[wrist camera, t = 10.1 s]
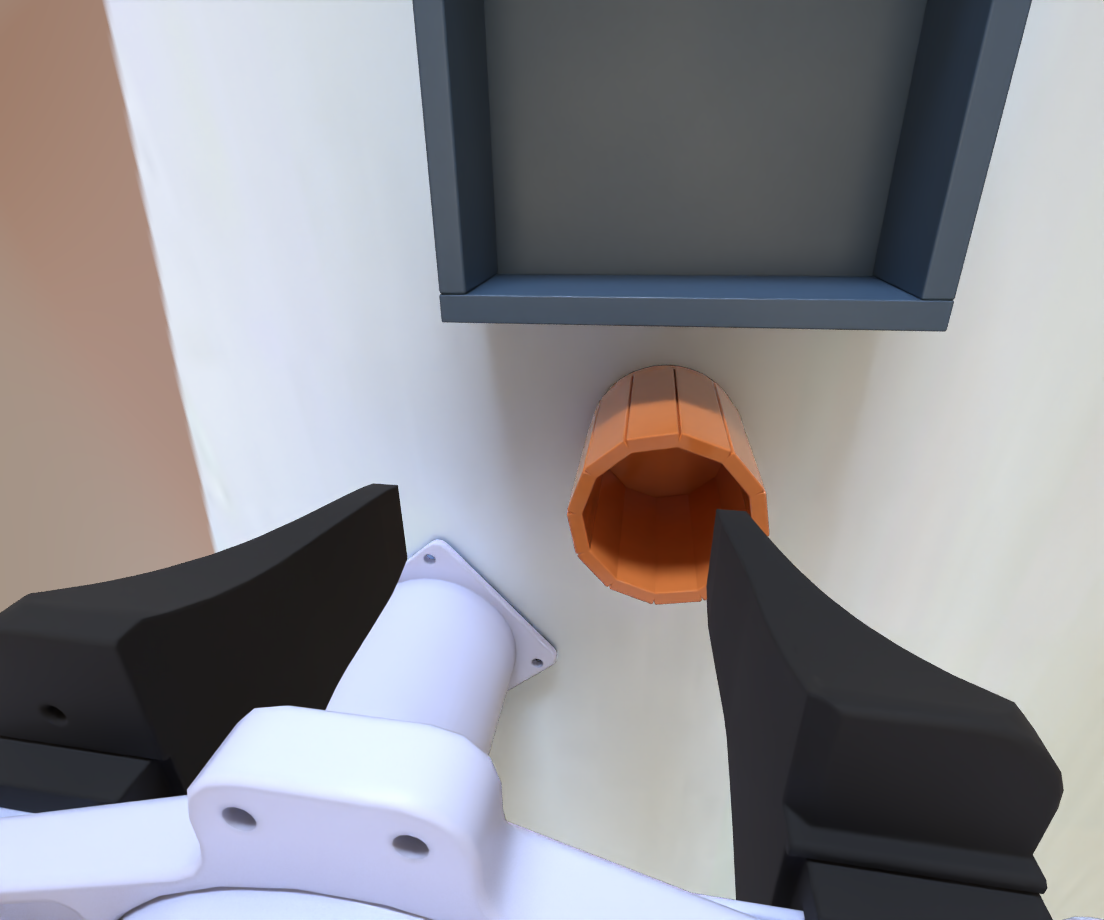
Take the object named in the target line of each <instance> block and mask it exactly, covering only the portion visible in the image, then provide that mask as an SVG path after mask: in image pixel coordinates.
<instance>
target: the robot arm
mask: <svg viewBox="0 0 1104 920" xmlns="http://www.w3.org/2000/svg"><path fill="white" fill-rule="evenodd" d="M427 554H429V555H432V556H434V558H435V559H430V558H429V557H428V556H427ZM706 590H707V614H708V629H709V634H710V640H711V646H712V652H713V657H714V663H715V669H716V674H717V680H718V685H719V691H720V696H721V702H722V707H723V713H724V720H725V727H726V735H727V748H728V762H729V776H730V792H731V809H732V826H733V845H734V866H735V887H736V900H733V899H727V898H721V897H714V896H708V895H702V894H696V893H691V892H688V891H686V890H683V889H681V888H678V887H675V886H673V885H670V884H668V883H665V882H663V881H660V880H657V879H655V878H652V877H650V876H647V875H644V874H642V873H639V872H637V871H634V870H632V869H629V868H626V867H624V866H621V865H619V864H616V863H614V862H611V861H608V860H606V859H603V858H601V857H598V856H596V855H593V854H590V853H588V852H585V851H583V850H580V849H577V848H575V847H572V846H570V845H567V844H565V843H562V842H559V841H557V840H554V839H552V838H549V837H547V836H544V835H541V834H539V833H536V832H534V831H531V830H528V829H526V828H523V827H521V826H518V825H516V824H513V823H510V822H508V821H506V819H505V815H504V811H503V802H502V786H501V781H500V779H499V776H498V774H497V772H496V769H495V767H494V765H493V763H492V760H491V758H490V757H489V752H490V749H491V745H492V742H493V738H494V735H495V731H496V728H497V724H498V721H499V717H500V714H501V710H502V707H503V703H504V700H505V696H506V693H507V691H508V690H510V689H512V688H513V687H515V686H517V685H519V684H520V683H522V682H524V681H526V680H527V679H529V678H531V677H533V676H534V675H536V674H538V673H539V672H541V671H543V670H545V669H546V668H548V667H550V666H552V665H553V664H554V663H555V662H556V659H557V651H556V650H555V648H554V647H553V646H552V645H551V644H550V643H548V642H547V641H546V640H545V639H544V638H543V637H542V636H541V635H540V634H539V633H538V632H537V631H536V630H535V629H534V628H533V627H532V626H531V625H530V624H529V623H528V622H527V621H526V620H525V619H524V618H523V617H522V616H521V615H520V614H519V613H518V612H517V611H516V610H515V609H514V608H513V607H512V606H511V605H510V604H509V603H508V602H507V601H506V600H505V599H504V598H503V597H502V596H501V595H499V594H498V593H497V592H496V591H495V590H494V589H493V588H492V587H491V586H490V585H489V584H488V583H487V582H486V581H485V580H484V579H483V578H482V577H481V576H480V575H479V574H478V573H477V572H476V571H475V570H474V569H473V568H472V567H471V566H470V565H469V564H468V563H467V562H466V561H465V560H464V559H463V558H462V557H461V556H460V555H459V554H458V553H457V552H456V551H455V550H454V549H453V548H452V547H450V546H449V545H448V544H447V543H446V542H445V541H442V540H434V541H432V542H430V543H429V544H428V545H426V546H425V547H424V548H422V549H421V550H420V551H419V552H417V553H416V554H415V555H413V556H412V557H411V558H409V559H408V560H407V552H406V544H405V536H404V529H403V521H402V514H401V506H400V499H399V491H398V485H386V484H371V485H368V486H365V487H363V488H360V489H358V490H356V491H354V492H352V493H350V494H347V495H345V496H343V497H341V498H339V499H337V500H335V501H333V502H331V503H329V504H327V505H325V506H323V507H321V508H319V509H317V510H315V511H313V512H311V513H309V514H307V515H305V516H303V517H301V518H299V519H297V520H295V521H293V522H290V523H288V524H286V525H284V526H282V527H279V528H277V529H275V530H273V531H271V532H269V533H266V534H264V535H262V536H260V537H257V538H255V539H252V540H250V541H247V542H245V543H242V544H240V545H237V546H234V547H231V548H229V549H226V550H223V551H220V552H218V553H215V554H212V555H209V556H205V557H202V558H199V559H195V560H192V561H188V562H185V563H181V564H178V565H175V566H171V567H168V568H165V569H160V570H157V571H153V572H149V573H144V574H140V575H136V576H131V577H126V578H122V579H117V580H112V581H107V582H102V583H96V584H91V585H84V586H78V587H71V588H65V589H58V590H52V591H46V592H38V593H31V594H28V595H26V596H24V597H23V598H21V599H20V600H18V601H17V602H16V603H14V604H12V605H11V606H10V607H8V608H7V609H5V610H4V611H2V612H1V613H0V920H1053V919H1052V917H1051V915H1050V914H1049V912H1048V910H1047V908H1046V906H1045V904H1044V902H1043V900H1042V898H1041V896H1040V894H1044V893H1045V891H1046V889H1047V883H1046V879H1045V877H1044V875H1043V873H1042V871H1041V869H1040V868H1039V866H1038V864H1037V862H1036V860H1035V858H1034V856H1033V853H1034V851H1035V849H1036V848H1037V846H1038V844H1039V842H1040V840H1041V839H1042V837H1043V835H1044V833H1045V831H1046V829H1047V828H1048V826H1049V824H1050V822H1051V820H1052V818H1053V817H1054V815H1055V813H1056V811H1057V809H1058V807H1059V804H1060V800H1061V797H1062V794H1063V791H1064V790H1063V783H1062V775H1061V771H1060V770H1059V768H1058V767H1057V765H1056V763H1055V762H1054V760H1053V759H1052V757H1051V755H1050V754H1049V752H1048V751H1047V749H1046V747H1045V746H1044V744H1043V742H1042V741H1041V739H1040V738H1039V736H1038V734H1037V733H1036V731H1035V730H1034V728H1033V727H1032V725H1031V724H1030V723H1029V721H1028V720H1027V719H1026V717H1025V716H1024V714H1023V713H1022V712H1021V710H1020V709H1019V708H1018V707H1017V705H1016V704H1015V702H1012V701H1010V700H1008V699H1006V698H1003V697H1001V696H999V695H997V694H994V693H992V692H990V691H988V690H985V689H983V688H981V687H979V686H976V685H974V684H972V683H969V682H967V681H965V680H963V679H960V678H958V677H956V676H954V675H952V674H950V673H948V672H946V671H944V670H942V669H940V668H938V667H936V666H935V665H933V664H931V663H929V662H927V661H925V660H923V659H921V658H919V657H917V656H916V655H914V654H912V653H910V652H909V651H907V650H905V649H903V648H902V647H900V646H898V645H897V644H895V643H893V642H892V641H890V640H889V639H887V638H886V637H884V636H882V635H881V634H879V633H878V632H876V631H875V630H873V629H871V628H870V627H868V626H867V625H865V624H864V623H863V622H861V621H860V620H858V619H857V618H855V617H854V616H853V615H851V614H850V613H849V612H847V611H846V610H845V609H844V608H842V607H841V606H840V605H838V604H837V603H836V602H834V601H833V600H832V599H831V598H829V597H828V596H827V595H826V594H825V593H823V592H822V591H821V590H820V589H819V588H818V587H817V586H815V585H814V584H813V583H812V582H811V581H810V580H809V579H808V578H807V577H806V576H805V575H804V574H802V573H801V572H800V571H799V570H798V569H797V568H796V567H795V566H794V565H793V564H792V563H791V562H790V561H789V560H788V559H787V558H786V556H785V555H784V554H783V553H782V552H781V551H780V550H779V549H778V548H777V547H776V546H775V545H774V543H773V542H772V541H771V540H770V539H769V538H768V536H767V535H766V534H765V533H764V532H763V531H762V529H761V528H760V527H759V526H758V525H757V524H756V522H755V521H754V520H753V519H752V518H751V517H750V515H749V514H748V513H747V512H746V511H736V510H723V509H716V516H715V524H714V531H713V539H712V547H711V555H710V562H709V570H708V578H707V585H706ZM535 659H540V660H541V661H536V660H535ZM1039 893H1040V894H1039ZM1064 920H1104V919H1099V918H1093V917H1071V918H1067V919H1064Z"/></svg>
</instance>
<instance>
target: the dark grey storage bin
mask: <svg viewBox="0 0 1104 920" xmlns="http://www.w3.org/2000/svg"><path fill="white" fill-rule="evenodd" d="M1031 2H1032V0H413V11H414V22H415V33H416V43H417V54H418V65H419V76H420V87H421V97H422V108H423V119H424V130H425V141H426V151H427V162H428V173H429V184H430V194H431V205H432V216H433V227H434V238H435V248H436V259H437V270H438V281H439V291H440V293H441V294H440V307H441V318H442V322H455V323H509V324H564V325H618V326H673V327H727V328H782V329H836V330H891V331H946V330H947V327H948V323H949V319H950V315H951V311H952V307H953V303H954V301H953V299H954V298H955V295H956V291H957V287H958V283H959V279H960V275H961V272H962V268H963V264H964V260H965V256H966V252H967V248H968V245H969V241H970V237H971V233H972V229H973V225H974V222H975V218H976V214H977V210H978V206H979V202H980V198H981V195H982V191H983V187H984V183H985V179H986V175H987V171H988V168H989V164H990V160H991V156H992V152H993V148H994V144H995V141H996V137H997V133H998V129H999V125H1000V121H1001V117H1002V114H1003V110H1004V106H1005V102H1006V98H1007V94H1008V90H1009V87H1010V83H1011V79H1012V75H1013V71H1014V67H1015V63H1016V60H1017V56H1018V52H1019V48H1020V44H1021V40H1022V36H1023V33H1024V29H1025V25H1026V21H1027V17H1028V13H1029V9H1030V6H1031Z"/></svg>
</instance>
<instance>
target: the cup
mask: <svg viewBox="0 0 1104 920" xmlns="http://www.w3.org/2000/svg"><path fill="white" fill-rule="evenodd" d="M716 509H723V510H736V511H746V512H747V513H748V514H749V515H750V517H751V518H752V519H753V520H754V521H755V522H756V524H757V525H758V526H759V527H760V528H761V529H762V531H763V532H764V533H765V534H766V535H767V536H769V522H768V510H767V497H766V491H765V488H764V485H763V482H762V479H761V476H760V473H759V470H758V468H757V465H756V462H755V459H754V456H753V453H752V450H751V447H750V444H749V441H748V438H747V435H746V432H745V429H744V426H743V423H742V420H741V417H740V415H739V413H738V410H737V409H736V408H735V406H734V405H733V403H732V401H731V400H730V398H729V397H728V395H727V394H726V392H725V391H724V390H723V389H722V388H721V387H720V386H719V385H718V384H717V383H715V382H714V381H713V380H712V379H710V378H708V377H707V376H705V375H704V374H702V373H699V372H697V371H695V370H692V369H688V368H685V367H680V366H671V365H661V366H652V367H648V368H643V369H640V370H638V371H635V372H633V373H631V374H629V375H627V376H625V377H623V378H622V379H620V380H619V381H617V382H616V383H615V384H614V385H613V386H612V387H611V388H610V389H609V390H608V391H607V392H606V393H605V394H604V396H603V397H602V399H601V400H600V401H599V403H598V406H597V408H596V410H595V412H594V416H593V419H592V422H591V424H590V427H589V429H588V432H587V436H586V440H585V444H584V447H583V451H582V455H581V459H580V463H579V466H578V470H577V474H576V478H575V482H574V485H573V489H572V493H571V497H570V501H569V504H568V508H567V511H568V512H567V517H568V522H569V526H570V531H571V535H572V539H573V544H574V548H575V552H576V553H577V554H578V557H579V558H580V560H581V561H582V562H583V563H584V564H585V565H586V566H587V567H588V568H589V569H590V570H591V571H592V572H593V573H594V574H595V575H596V576H597V577H598V578H599V579H600V580H601V581H602V582H603V584H604V585H605V586H607V587H608V586H609V585H610V589H612V590H614V591H617V592H620V593H623V594H625V595H628V596H631V597H634V598H636V599H639V600H642V601H645V602H647V603H650V604H652V603H653V602H654V603H655V604H656V605H657V604H671V603H686V602H700V601H701V600H702V598H703V600H706V599H707V590H706V585H707V578H708V570H709V562H710V555H711V547H712V539H713V531H714V524H715V516H716Z"/></svg>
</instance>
